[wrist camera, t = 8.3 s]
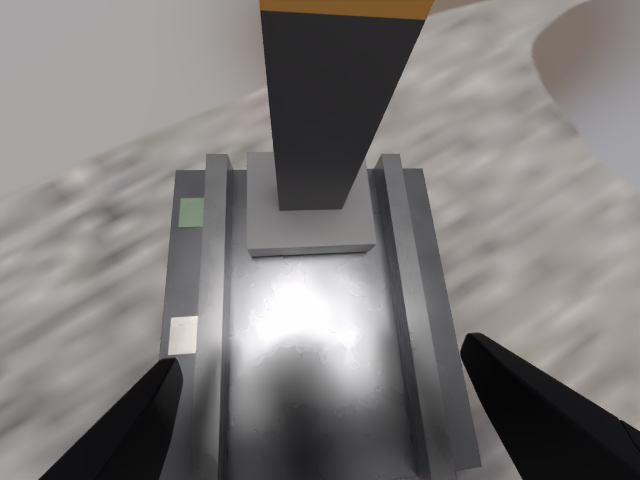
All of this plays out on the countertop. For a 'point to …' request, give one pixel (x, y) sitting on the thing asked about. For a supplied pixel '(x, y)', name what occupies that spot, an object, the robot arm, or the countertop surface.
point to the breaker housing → (312, 344)
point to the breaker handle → (324, 120)
